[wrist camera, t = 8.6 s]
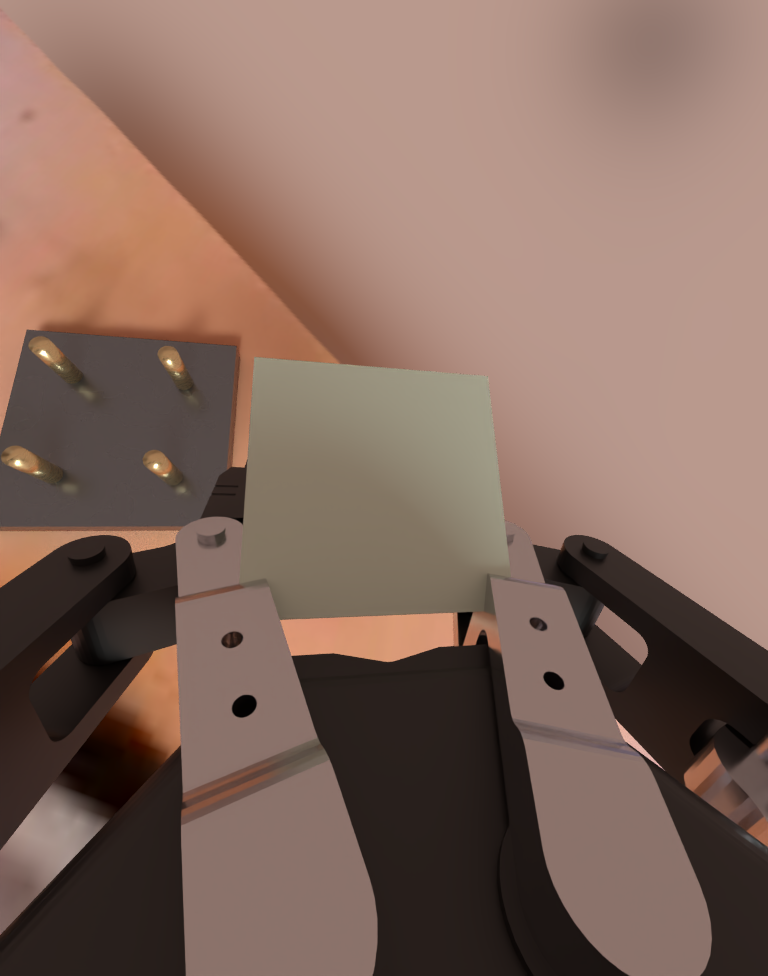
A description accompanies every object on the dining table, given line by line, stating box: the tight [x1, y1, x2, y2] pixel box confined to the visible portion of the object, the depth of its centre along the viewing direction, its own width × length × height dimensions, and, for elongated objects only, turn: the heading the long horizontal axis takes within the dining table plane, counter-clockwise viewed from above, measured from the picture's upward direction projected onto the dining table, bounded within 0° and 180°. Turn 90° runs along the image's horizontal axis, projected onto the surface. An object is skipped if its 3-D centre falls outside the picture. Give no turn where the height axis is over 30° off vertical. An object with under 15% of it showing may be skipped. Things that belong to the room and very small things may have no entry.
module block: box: [239, 357, 511, 620], centre depth 11 cm, size 4×4×10 cm
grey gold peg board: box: [0, 330, 240, 531], centre depth 26 cm, size 14×14×5 cm
